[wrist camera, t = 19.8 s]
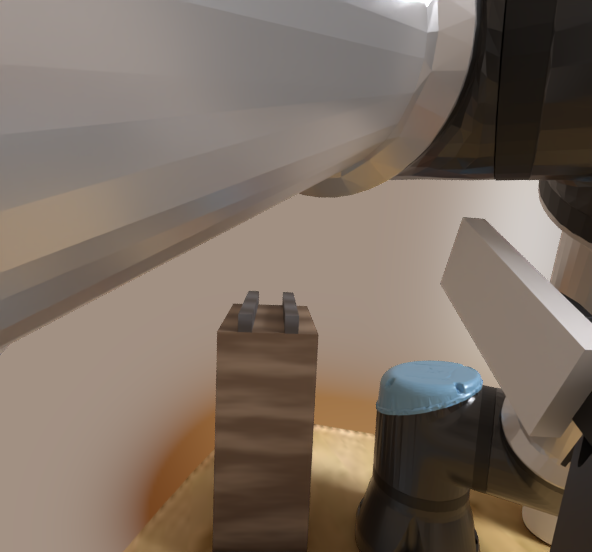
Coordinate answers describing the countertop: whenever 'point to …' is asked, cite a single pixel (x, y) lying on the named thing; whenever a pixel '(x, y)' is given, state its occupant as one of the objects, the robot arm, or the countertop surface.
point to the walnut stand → (264, 427)
